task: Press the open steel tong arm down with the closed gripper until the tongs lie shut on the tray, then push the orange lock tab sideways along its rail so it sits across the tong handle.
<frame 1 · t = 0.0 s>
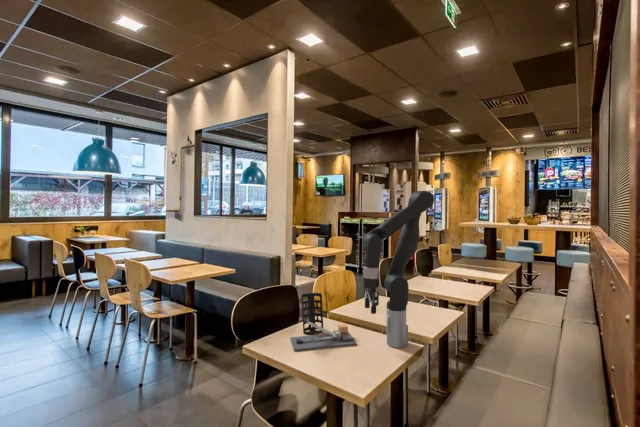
hand: (370, 310, 159), 17 cm above the table, tool pointing down, fingers open, 8 cm apart
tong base: (323, 335, 167), on the tray, point 3 cm above the table
tray: (322, 342, 166), on the table
lock tab: (343, 328, 172), point 4 cm above the table, slide at 0.0 cm
tong arm: (317, 326, 165), point 8 cm above the table, hinge at 30.0°
holder: (312, 331, 180), on the table
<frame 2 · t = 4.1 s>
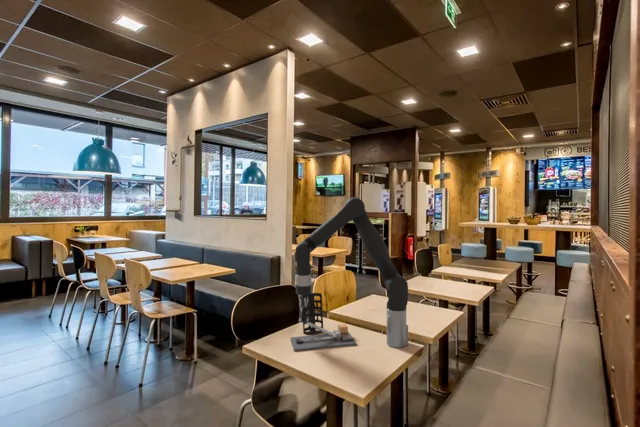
hand: (303, 319, 163), 12 cm above the table, tool pointing down, fingers closed
tong arm: (317, 327, 165), point 8 cm above the table, hinge at 28.5°, touching gripper
everything else where it was.
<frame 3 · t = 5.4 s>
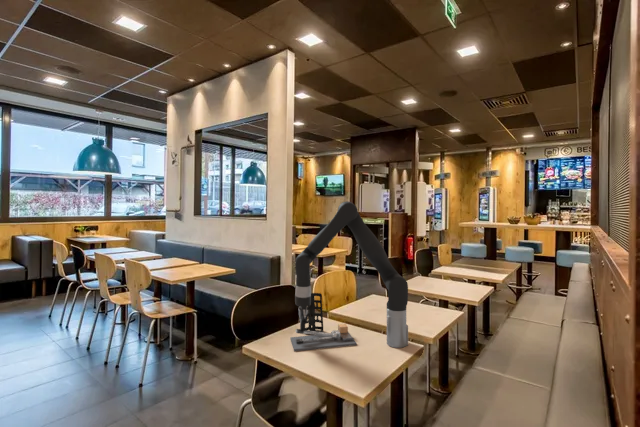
hand: (302, 330, 164), 7 cm above the table, tool pointing down, fingers closed
tong arm: (315, 333, 165), point 5 cm above the table, hinge at 11.6°, touching gripper
everything else where it was.
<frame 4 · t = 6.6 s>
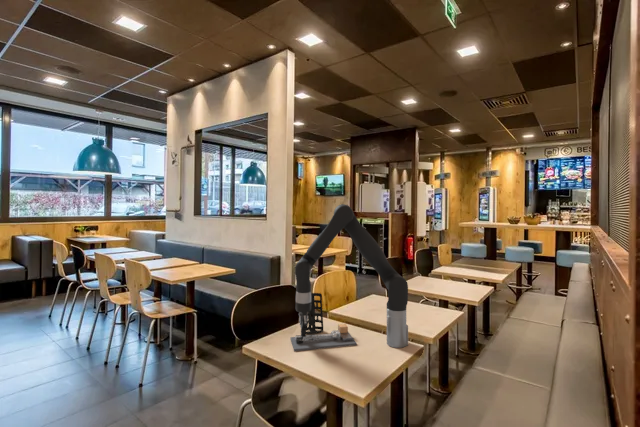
hand: (303, 336, 164), 4 cm above the table, tool pointing down, fingers closed
tong arm: (314, 336, 165), point 3 cm above the table, hinge at 2.0°, touching gripper
everything else where it was.
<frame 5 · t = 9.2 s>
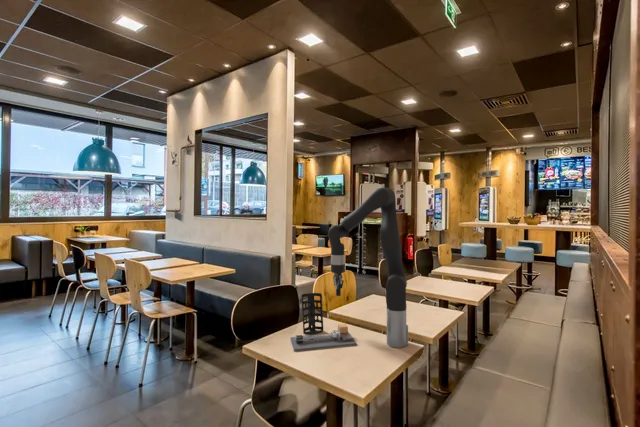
hand: (338, 295, 179), 19 cm above the table, tool pointing down, fingers closed
tong arm: (314, 336, 165), point 3 cm above the table, hinge at 1.9°
everything else where it was.
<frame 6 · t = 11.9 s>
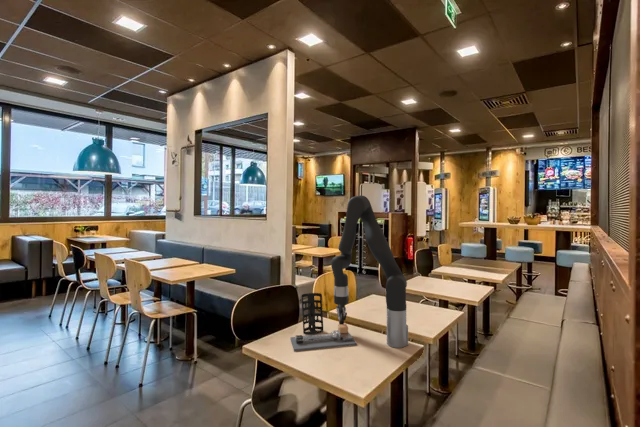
hand: (341, 327, 176), 3 cm above the table, tool pointing down, fingers closed
lock tab: (343, 328, 172), point 4 cm above the table, slide at 0.3 cm, touching gripper
everything else where it was.
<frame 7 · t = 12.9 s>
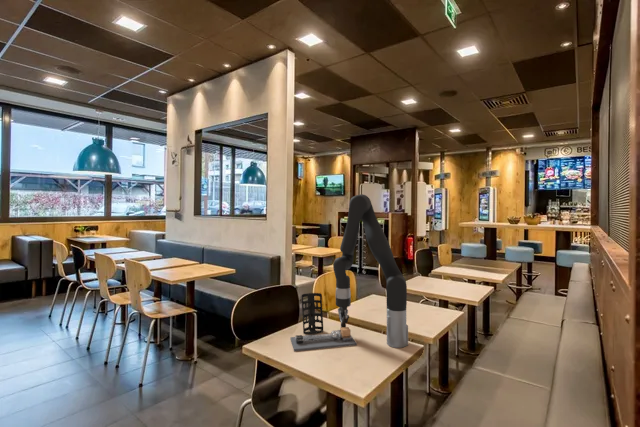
hand: (343, 329, 172), 3 cm above the table, tool pointing down, fingers closed
lock tab: (345, 331, 168), point 4 cm above the table, slide at 4.4 cm, touching gripper
everything else where it was.
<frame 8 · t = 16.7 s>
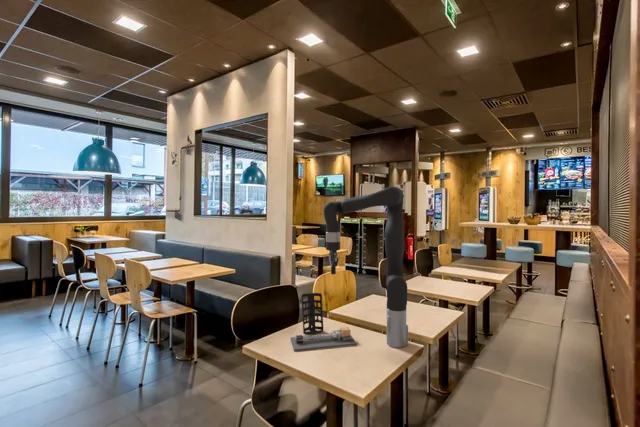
hand: (333, 273, 176), 31 cm above the table, tool pointing down, fingers closed
lock tab: (345, 331, 168), point 4 cm above the table, slide at 4.4 cm
everything else where it was.
at the end: tong arm at +2° (first picture: +30°); lock tab slide at 4.4 cm; holder moved 0.2 cm from its start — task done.
